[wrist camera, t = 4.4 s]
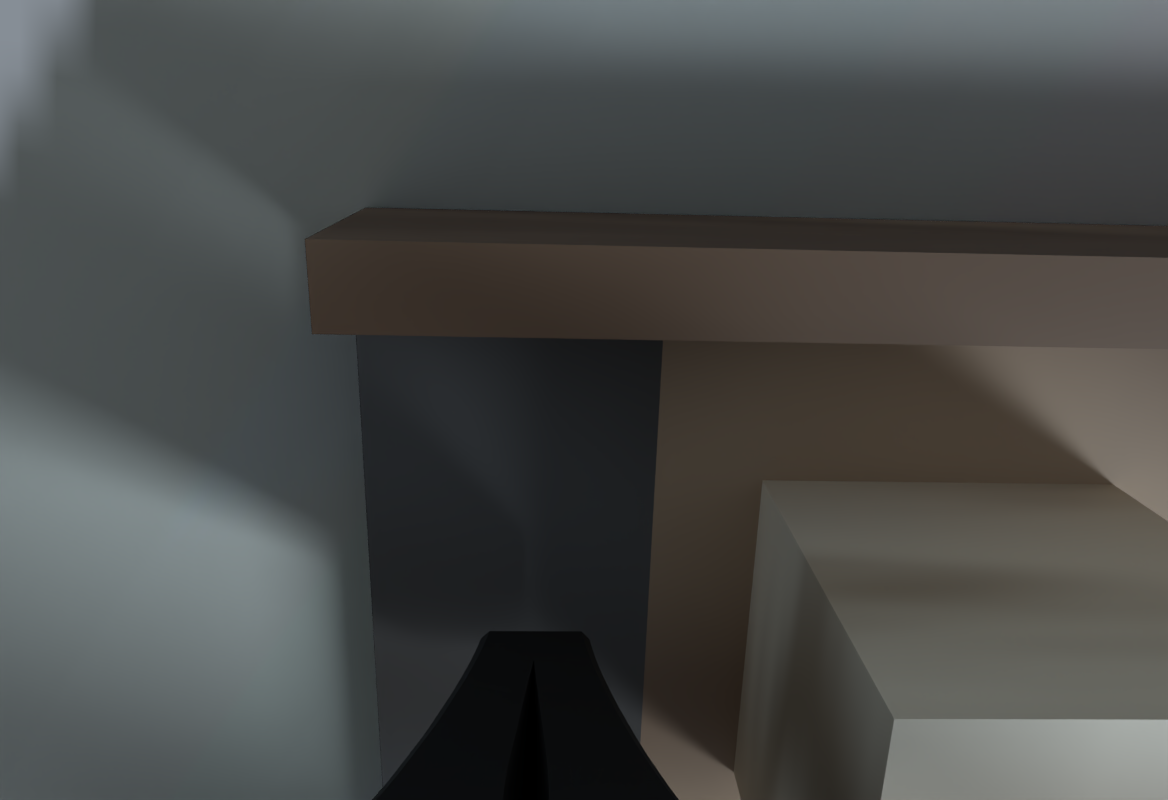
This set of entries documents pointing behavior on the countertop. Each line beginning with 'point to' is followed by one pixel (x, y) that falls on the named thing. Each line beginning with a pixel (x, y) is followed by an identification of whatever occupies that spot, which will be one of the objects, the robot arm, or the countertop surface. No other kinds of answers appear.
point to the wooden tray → (700, 419)
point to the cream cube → (955, 644)
